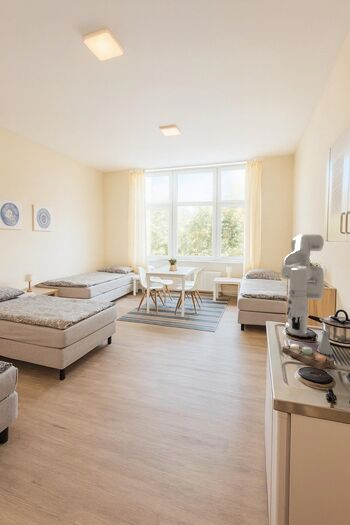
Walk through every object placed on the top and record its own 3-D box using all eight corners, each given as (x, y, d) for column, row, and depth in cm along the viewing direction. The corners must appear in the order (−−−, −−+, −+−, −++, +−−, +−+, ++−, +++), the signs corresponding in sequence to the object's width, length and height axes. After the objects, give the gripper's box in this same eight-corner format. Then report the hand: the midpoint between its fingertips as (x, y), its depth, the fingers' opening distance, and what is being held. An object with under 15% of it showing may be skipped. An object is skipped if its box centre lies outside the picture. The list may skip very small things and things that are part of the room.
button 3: (313, 362, 120) (313, 356, 119) (319, 361, 121) (319, 354, 121) (321, 366, 116) (321, 359, 116) (327, 365, 118) (327, 358, 117)
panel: (282, 351, 132) (282, 346, 132) (296, 348, 136) (296, 343, 136) (318, 369, 114) (318, 363, 114) (333, 365, 118) (334, 359, 118)
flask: (335, 356, 127) (336, 336, 127) (318, 354, 129) (320, 334, 128) (329, 350, 134) (331, 331, 134) (314, 348, 136) (315, 329, 135)
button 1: (288, 350, 132) (288, 344, 132) (293, 349, 134) (294, 343, 134) (294, 354, 129) (295, 347, 128) (300, 352, 130) (300, 346, 130)
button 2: (300, 354, 126) (300, 347, 126) (306, 352, 127) (306, 346, 127) (307, 357, 122) (307, 350, 122) (313, 356, 124) (313, 349, 124)
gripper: (292, 296, 122) (290, 334, 125) (315, 293, 129) (312, 329, 131) (280, 292, 129) (278, 329, 131) (301, 289, 135) (300, 324, 138)
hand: (295, 329), depth 131 cm, fingers closed
